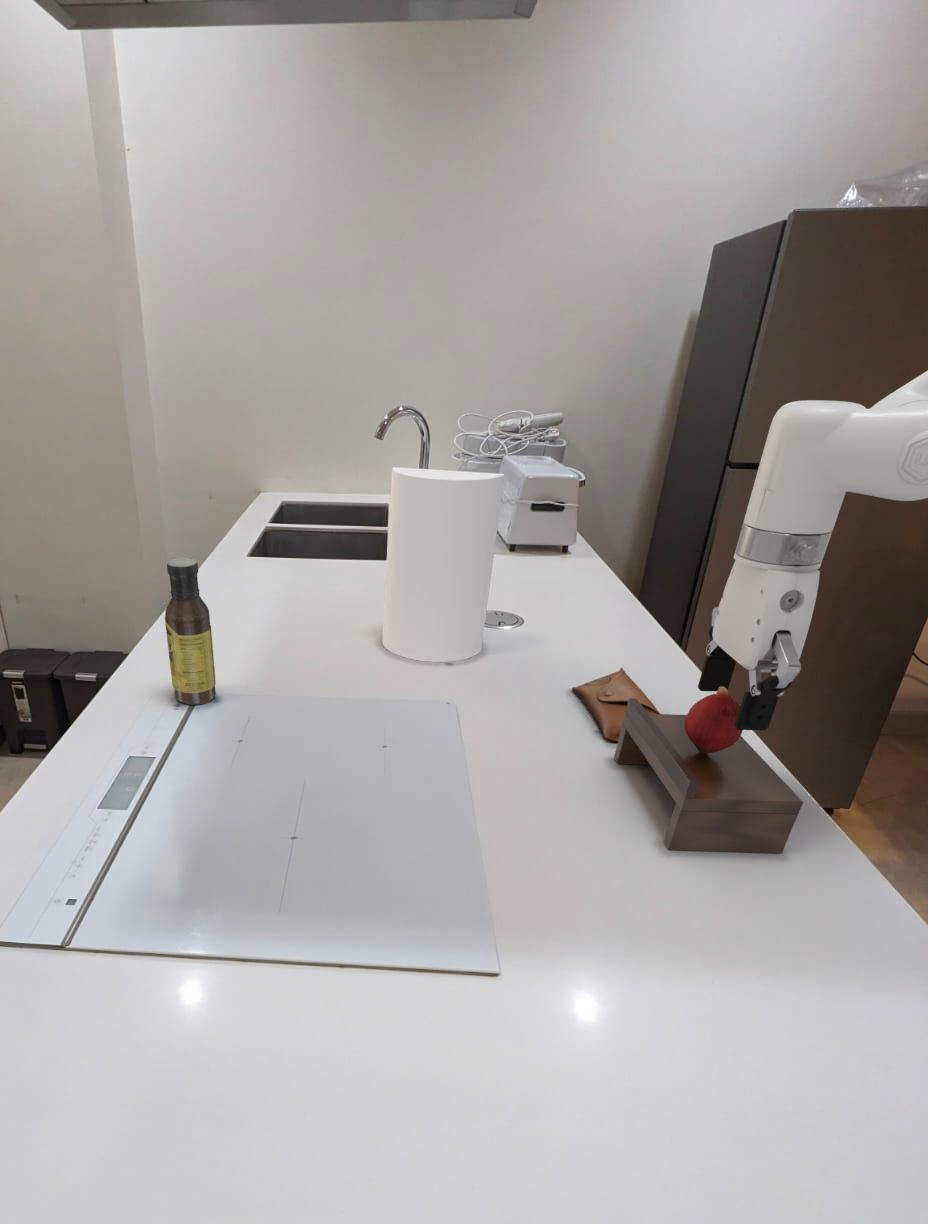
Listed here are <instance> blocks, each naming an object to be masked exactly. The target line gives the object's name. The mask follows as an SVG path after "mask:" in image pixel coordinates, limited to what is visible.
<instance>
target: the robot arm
mask: <svg viewBox="0 0 928 1224" xmlns="http://www.w3.org/2000/svg"><path fill="white" fill-rule="evenodd" d="M754 479H755V480H754V483H753V485H752V490H751V493H750V497H749V502H748V504H747V508H746V513H745V515H744V519H743V522H742V525H741V530H740V533H739V537H738V540H737V543H736V546H735V547H736V548H735V551H734V554H733V559H734V563H733V565H732V567H731V570H730V573H729V575H728V578H727V581H726V584H725V586H724V590H723V592H722V595H721V598H720V601H719V604H718V606H715V607H713V609H712V611H711V612H712V613H711V627H710V628H709V631H708V635H709V643H708V644H707V646H706V649H705V654H706V656H705V660H704V663H703V667H702V670H701V674H700V677H699V682H698V685H697V689H698V690H700V692H717V691H718V688H719V687H725V688H726V689H727V691H728V690H729V688H730V684H731V682H732V681H731V680H732V677H733V675H734V671H735V667H736V665H737V664H739V665H740V666H742V667H743V668H744V669H745V670H747V671H748V679H749V680H748V681H749V691H745V692H744V694H743V697H742V701H741V703H740V705H739V706H740V709H739V713H738V716H737V719H736V722H735V727H736V728H737V729H738V730H743V731H766V730H768V729H769V727H770V724H771V721H772V718H773V715H774V713H775V709H776V707H777V704H778V701H779V698H780V697H783V696H784V694H785V691H787V690H788V689H790V688H791V686H792V683H793V681H794V680H795V678H796V677H797V676H798V675H799V674H800V672H801V671H802V664H801V661H800V659H801V655H802V652H803V649H804V646H805V643H806V639H807V636H808V633H809V629H810V625H811V622H812V618H813V613H814V611H815V606H816V601H817V597H818V596H817V595H818V590H819V586H820V585H819V584H820V574H821V571H820V570H819V569H820V568H821V566H822V563H823V560H824V558H825V554H826V552H827V548H828V546H829V543H830V539H831V538H832V537H831V536H832V534H833V530H834V529H835V528H834V527H835V525H836V522H837V519H838V516H839V513H840V511H841V508H842V504H843V501H844V499H845V497H846V493H847V492H849V493H853V494H860V495H866V496H871V497H876V498H880V499H886V500H891V501H898V502H912V501H920V500H921V501H922V500H924V499H928V370H926V371H925V372H923V373H921V374H920V375H919V376H916V377H915V378H913V379H912V380H910V381H909V382H907V383H905V384H904V385H902V386H901V387H899V388H898V389H896V390H895V391H893V392H891V393H889V394H888V395H886V396H885V397H884V398H882V399H880V400H879V401H878V402H876V403H875V404H874V405H872V406H871V407H870V408H866V406H864V405H862V404H860V403H857V402H851V401H845V400H843V401H842V400H828V399H827V400H825V399H824V400H823V399H822V400H821V399H818V400H817V399H808V400H807V399H806V400H796V401H791V402H788V403H785V404H783V405H781V406H780V408H779V409H777V411H776V412H775V414H774V416H773V417H772V420H771V423H770V425H769V430H768V433H767V437H766V440H765V444H764V447H763V451H762V455H761V459H760V462H759V465H758V469H757V473H756V476H755V478H754ZM759 661H760V662H759ZM761 661H762V662H761ZM763 661H764V662H763ZM765 661H766V662H765ZM767 662H768V663H767ZM762 673H771V675H770V676H768V677H767V678H765V679H764V680H762Z"/></svg>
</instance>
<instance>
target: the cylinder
mask: <svg viewBox="0 0 928 1224" xmlns="http://www.w3.org/2000/svg"><path fill="white" fill-rule="evenodd" d="M505 475H506V474H505V473H497V472H481V471H480V472H479V471H463V470H449V469H448V470H447V469H432V468H431V469H430V468H414V467H400V466H399V467H398V466H393V467H392V469H391V479H390V480H391V481H390V482H391V484H390V500H389V517H388V536H387V552H386V566H385V567H386V570H385V585H384V587H385V588H384V601H383V602H384V604H383V621H382V623H383V624H382V638H381V639H382V640H381V643H382V645H383V647H384V648H385V649H386V650H387V651H389V652H390V653H392V654H394V655H396V656H398V657H401V658H406V659H409V660H414V661H419V662H427V663H428V662H429V663H452V662H459V661H464V660H467V659H470V658H473V657H475V656H477V655H478V654H479V653H480V652H481V651H482V649H483V641H484V634H485V626H486V625H485V624H486V618H487V612H488V611H487V610H488V604H489V597H490V595H489V594H490V587H491V580H492V572H493V564H494V559H495V558H494V557H495V549H496V542H497V535H498V528H499V527H498V526H499V522H500V521H499V519H500V513H501V506H502V499H503V498H502V497H503V489H504V482H505Z"/></svg>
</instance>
